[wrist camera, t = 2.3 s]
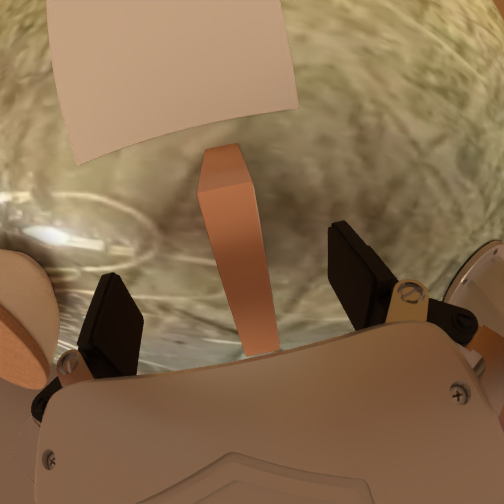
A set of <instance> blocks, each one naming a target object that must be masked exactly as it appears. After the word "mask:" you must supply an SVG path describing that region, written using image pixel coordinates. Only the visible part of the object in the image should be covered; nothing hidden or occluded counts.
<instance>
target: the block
mask: <svg viewBox="0 0 504 504" xmlns="http://www.w3.org/2000/svg"><path fill="white" fill-rule="evenodd" d="M197 197H198V200H199V204H200V208H201V211H202V215H203V218H204V222H205V226H206V229H207V233H208V236H209V240H210V243H211V246H212V250H213V253H214V257H215V260H216V263H217V267H218V270H219V273H220V277H221V280H222V283H223V287H224V290H225V293H226V296H227V299H228V303H229V306H230V309H231V312H232V315H233V318H234V321H235V325H236V328H237V331H238V334H239V337H240V340H241V343H242V346H243V349H244V352H245V355H246V356H252V355H257V354H262V353H267V352H272V351H277V350H280V346H279V345H280V342H279V335H278V329H277V322H276V316H275V310H274V304H273V297H272V291H271V285H270V279H269V273H268V267H267V261H266V255H265V249H264V243H263V237H262V231H261V225H260V219H259V213H258V208H257V202H256V196H255V190H254V185H253V182H252V179H251V177H250V174H249V172H248V169H247V166H246V164H245V161H244V159H243V156H242V153H241V151H240V148H239V147H238V144H237V143H234V144H229V145H224V146H220V147H215V148H210V149H206V150H205V153H204V158H203V163H202V168H201V173H200V178H199V183H198V188H197Z"/></svg>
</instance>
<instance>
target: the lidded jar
mask: <svg viewBox="0 0 504 504" xmlns="http://www.w3.org/2000/svg"><path fill="white" fill-rule="evenodd" d="M59 330H60V317H59V309H58V304H57V300H56V297H55V295H54V290H53V286H52V283H51V280H50V278H49V276H48V275H47V273H46V272H45V270H44V269H43V268H42V266H41V265H40V264H39V263H38V262H37V261H36V260H34V259H33V258H32V257H30V256H29V255H27V254H25V253H23V252H20V251H10V250H4V249H0V377H2V378H4V379H6V380H7V381H9V382H11V383H14V384H16V385H18V386H21V387H24V388H28V389H40V388H43V387H44V386H45V385H46V384H47V381H48V379H49V375H50V368H51V365H52V362H53V359H54V356H55V352H56V348H57V344H58V337H59Z"/></svg>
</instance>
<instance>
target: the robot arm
mask: <svg viewBox="0 0 504 504" xmlns="http://www.w3.org/2000/svg"><path fill="white" fill-rule="evenodd" d="M328 279H329V282H330V284H331V286H332V288H333V290H334V291H335V293H336V295H337V297H338V299H339V301H340V302H341V304H342V306H343V308H344V310H345V312H346V314H347V315H348V317H349V319H350V321H351V323H352V325H353V327H354V329H355V331H354V332H351V333H347V334H344V335H341V336H337V337H334V338H330V339H326V340H323V341H319V342H315V343H312V344H308V345H304V346H301V347H297V348H293V349H289V350H285V351H280V352H276V353H272V354H267V355H263V356H258V357H253V358H249V359H244V360H239V361H234V362H228V363H223V364H217V365H211V366H205V367H199V368H192V369H186V370H179V371H171V372H163V373H154V374H145V375H137V366H138V358H139V351H140V344H141V337H142V331H143V324H144V319H143V316H142V314H141V312H140V311H139V309H138V307H137V306H136V304H135V302H134V300H133V299H132V297H131V295H130V294H129V292H128V290H127V288H126V286H125V285H124V283H123V281H122V279H121V277H120V276H119V275H116V274H115V273H114V272H112V273H108V274H104V275H102V276H101V278H100V281H99V283H98V286H97V288H96V291H95V293H94V296H93V298H92V301H91V304H90V306H89V309H88V312H87V315H86V317H85V320H84V323H83V326H82V329H81V332H80V335H79V338H78V341H77V345H78V346H79V348H78V351H77V350H69V351H67V352H65V353H64V354H63V355H62V356H61V357H60V358H59V360H58V362H57V365H56V372H57V375H58V376H57V377H56V378H55V379H54V380H53V381H52V382H51V383H50V384H49V385H48V386H47V387H45V388H44V389H43V390H42V391H41V392H40V393H39V394H38V395H37V396H36V397H35V399H34V400H33V403H32V406H31V412H32V417H30V416H29V417H28V418H27V420H26V422H25V424H24V425H23V427H22V429H21V430H20V432H19V434H18V436H17V437H16V439H15V441H14V443H13V449H12V450H13V455H14V457H15V459H16V460H17V461H18V463H19V464H20V465H21V467H22V468H23V469H24V471H25V472H26V473H27V474H28V476H29V477H30V478H31V479H32V481H33V482H34V483H35V504H504V434H503V431H502V428H501V426H500V423H499V421H498V417H499V414H500V412H501V409H502V407H503V405H504V243H503V242H501V241H493V242H490V243H489V244H487V245H485V246H484V247H482V248H481V249H480V250H479V251H478V252H476V253H475V254H474V255H473V256H472V257H471V259H470V260H469V261H468V262H467V263H466V264H465V266H464V267H463V268H462V269H461V271H460V272H459V273H458V275H457V277H456V278H455V280H454V281H453V283H452V285H451V286H450V288H449V290H448V292H447V294H446V297H445V299H444V302H442V301H438V300H435V299H431V298H429V293H428V290H427V288H426V287H425V286H424V285H423V284H421V283H420V282H418V281H415V280H410V279H406V280H402V281H398V280H397V278H396V277H395V276H394V275H393V273H392V272H391V271H390V270H389V268H388V267H387V266H386V265H385V264H384V262H383V261H382V260H381V259H380V257H379V256H378V255H377V254H376V253H375V252H374V250H373V249H372V248H371V247H370V246H368V245H366V244H365V242H364V241H363V240H362V239H361V238H360V237H359V236H358V234H357V233H356V232H355V231H354V230H353V229H352V228H351V226H350V225H349V224H348V223H347V222H346V221H344V220H343V221H339V222H334V223H332V225H331V227H328Z"/></svg>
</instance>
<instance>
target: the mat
mask: <svg viewBox="0 0 504 504" xmlns="http://www.w3.org/2000/svg"><path fill="white" fill-rule="evenodd" d="M47 21H48V34H49V43H50V52H51V59H52V65H53V71H54V77H55V82H56V87H57V92H58V97H59V101H60V106H61V110H62V114H63V118H64V122H65V126H66V129H67V133H68V136H69V140H70V143H71V146H72V150H73V153H74V156H75V159H76V162H77V165H80V164H83V163H85V162H87V161H90V160H92V159H95V158H97V157H100V156H102V155H105V154H108V153H110V152H113V151H116V150H118V149H121V148H124V147H127V146H130V145H133V144H136V143H139V142H142V141H145V140H148V139H152V138H155V137H158V136H162V135H165V134H169V133H172V132H176V131H180V130H183V129H187V128H191V127H195V126H200V125H204V124H208V123H213V122H217V121H222V120H227V119H232V118H238V117H243V116H249V115H255V114H261V113H268V112H275V111H283V110H292V109H299V104H298V97H297V90H296V83H295V77H294V71H293V65H292V59H291V53H290V48H289V42H288V37H287V32H286V27H285V22H284V17H283V13H282V8H281V4H280V0H47Z"/></svg>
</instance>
